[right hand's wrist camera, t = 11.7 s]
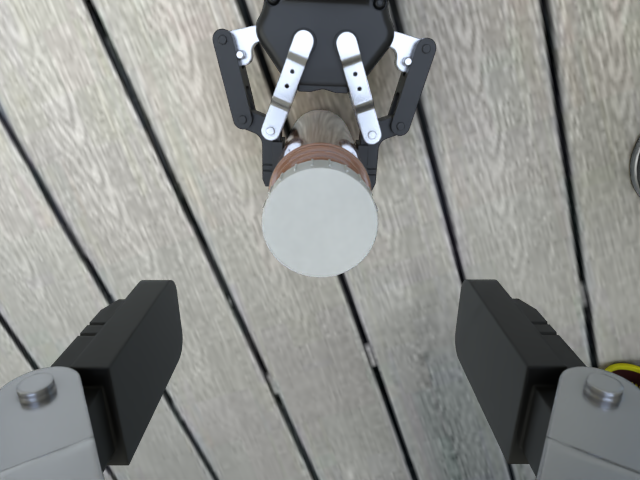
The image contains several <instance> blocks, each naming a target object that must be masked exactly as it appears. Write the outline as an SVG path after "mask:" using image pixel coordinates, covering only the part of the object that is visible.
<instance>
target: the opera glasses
mask: <svg viewBox="0 0 640 480" xmlns="http://www.w3.org/2000/svg"><path fill="white" fill-rule="evenodd" d="M605 370H606V371H609V372H612V373H614V374H617V375H619V376H621V377H623V378H625V379H627V380H628V381H630V382H632V383H633V384H634V385H636V386H637V387H638V388H639V389H640V367H639V366H636V365H633V364H627V363H617V364H613V365H610V366H608V367H607V368H606V369H605Z"/></svg>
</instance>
